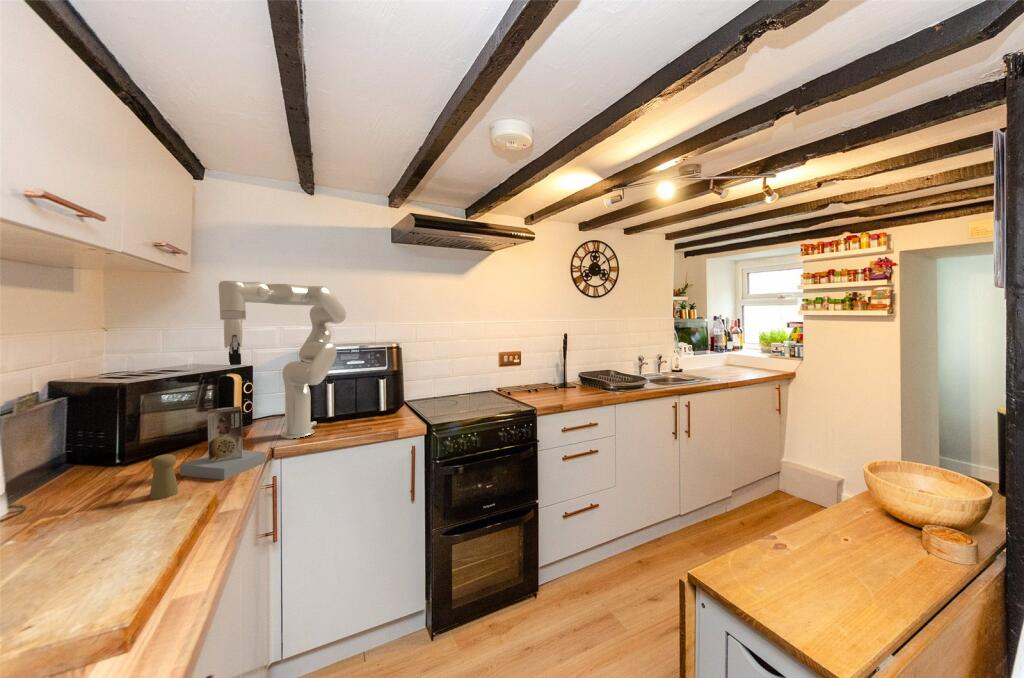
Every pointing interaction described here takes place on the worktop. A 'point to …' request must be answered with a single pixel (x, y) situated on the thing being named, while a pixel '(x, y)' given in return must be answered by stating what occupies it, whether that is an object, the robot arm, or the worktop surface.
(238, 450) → the coffee box
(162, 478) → the olive pepper mill
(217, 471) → the podium
